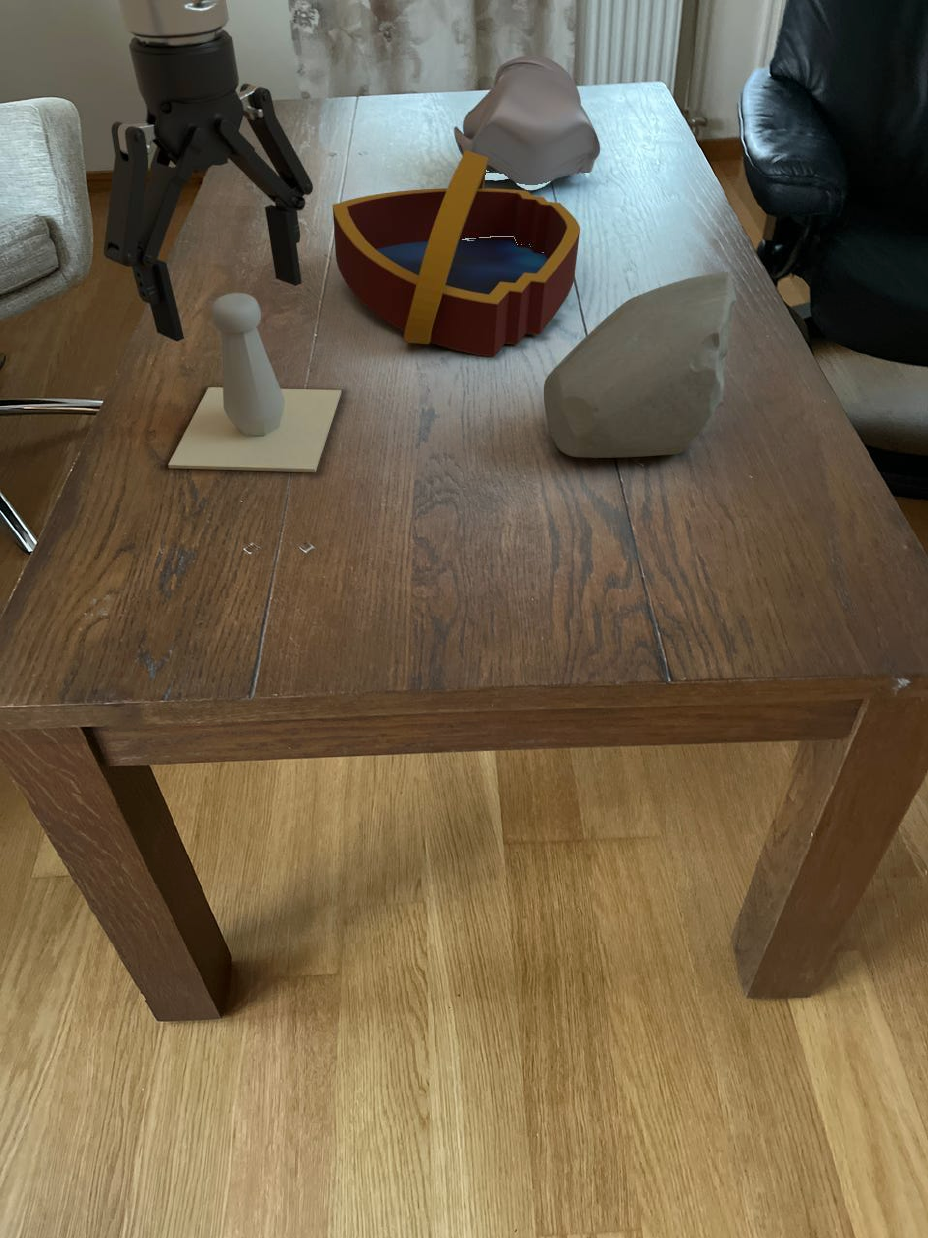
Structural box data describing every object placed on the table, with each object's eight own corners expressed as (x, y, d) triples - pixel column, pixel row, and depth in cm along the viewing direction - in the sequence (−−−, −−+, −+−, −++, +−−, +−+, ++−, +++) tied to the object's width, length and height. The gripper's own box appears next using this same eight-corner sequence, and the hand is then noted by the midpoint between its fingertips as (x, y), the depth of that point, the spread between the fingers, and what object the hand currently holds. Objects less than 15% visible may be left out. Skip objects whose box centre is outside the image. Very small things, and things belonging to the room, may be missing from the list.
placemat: (315, 472, 88) (315, 468, 88) (168, 468, 89) (167, 464, 89) (341, 393, 98) (341, 389, 98) (209, 390, 99) (208, 386, 99)
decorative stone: (531, 415, 94) (536, 268, 84) (696, 395, 96) (721, 249, 86) (563, 486, 86) (572, 332, 75) (743, 462, 88) (777, 309, 77)
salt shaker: (283, 441, 91) (259, 314, 82) (224, 442, 91) (194, 315, 82) (292, 409, 95) (270, 284, 86) (235, 409, 95) (208, 285, 86)
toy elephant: (458, 213, 135) (464, 107, 123) (449, 146, 145) (453, 42, 133) (596, 213, 137) (615, 109, 125) (577, 146, 147) (593, 44, 135)
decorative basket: (542, 389, 102) (570, 254, 91) (283, 329, 104) (282, 189, 93) (583, 262, 126) (610, 142, 115) (373, 214, 128) (380, 93, 117)
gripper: (60, 78, 61) (142, 375, 76) (335, 7, 75) (360, 270, 90) (-3, 60, 65) (87, 347, 79) (271, -4, 78) (305, 250, 93)
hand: (232, 307), depth 84 cm, fingers open, 13 cm apart
